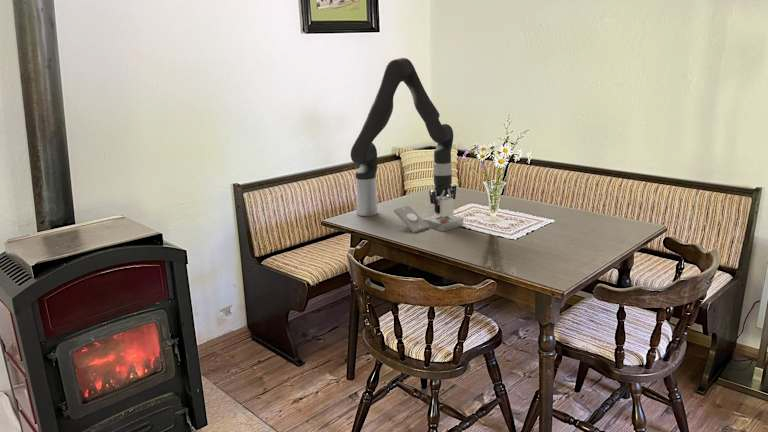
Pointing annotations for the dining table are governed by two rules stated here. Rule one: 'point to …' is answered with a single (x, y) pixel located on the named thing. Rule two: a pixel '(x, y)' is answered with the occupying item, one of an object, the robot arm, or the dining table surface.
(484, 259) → the dining table surface
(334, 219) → the dining table surface
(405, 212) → the light switch
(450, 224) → the socket
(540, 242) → the dining table surface
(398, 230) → the dining table surface
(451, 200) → the plug
